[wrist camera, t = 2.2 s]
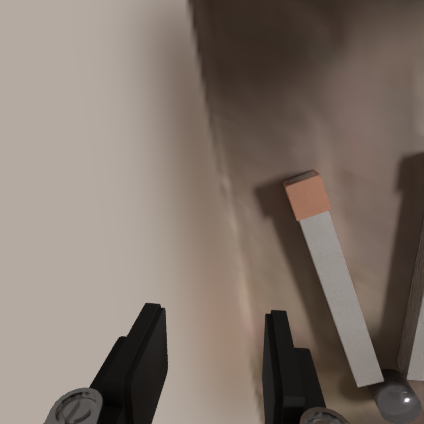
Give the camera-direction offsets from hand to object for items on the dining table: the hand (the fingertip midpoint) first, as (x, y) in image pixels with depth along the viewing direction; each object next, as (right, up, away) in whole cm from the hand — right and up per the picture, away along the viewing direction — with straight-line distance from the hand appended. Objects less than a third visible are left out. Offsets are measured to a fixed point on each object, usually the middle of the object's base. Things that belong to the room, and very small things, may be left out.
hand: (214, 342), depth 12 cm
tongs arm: (+11, -1, +17) cm, 20 cm away
